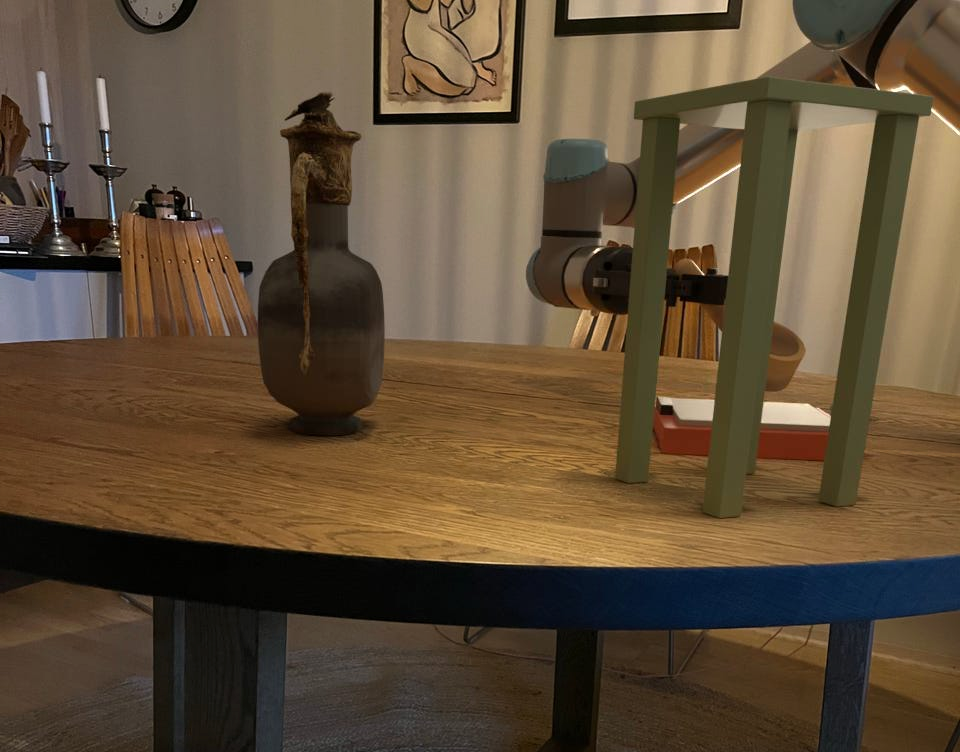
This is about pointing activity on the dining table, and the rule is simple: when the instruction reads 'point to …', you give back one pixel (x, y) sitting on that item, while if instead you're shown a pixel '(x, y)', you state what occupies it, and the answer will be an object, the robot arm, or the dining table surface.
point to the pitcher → (321, 289)
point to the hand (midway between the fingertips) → (733, 291)
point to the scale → (780, 436)
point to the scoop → (783, 344)
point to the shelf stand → (764, 269)
